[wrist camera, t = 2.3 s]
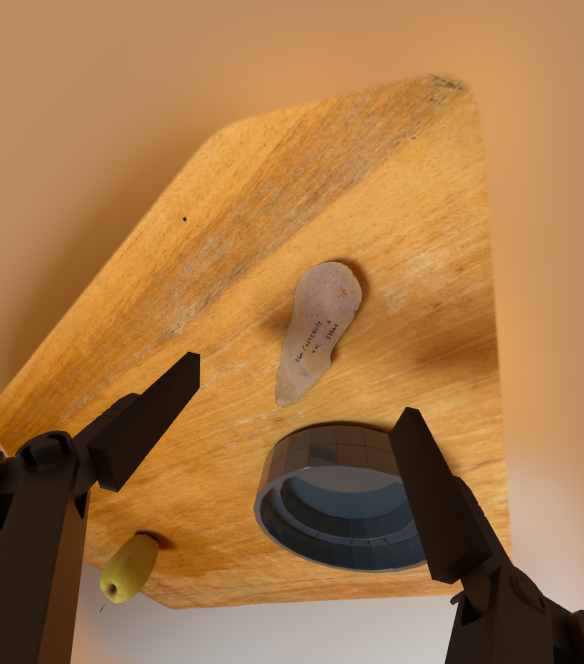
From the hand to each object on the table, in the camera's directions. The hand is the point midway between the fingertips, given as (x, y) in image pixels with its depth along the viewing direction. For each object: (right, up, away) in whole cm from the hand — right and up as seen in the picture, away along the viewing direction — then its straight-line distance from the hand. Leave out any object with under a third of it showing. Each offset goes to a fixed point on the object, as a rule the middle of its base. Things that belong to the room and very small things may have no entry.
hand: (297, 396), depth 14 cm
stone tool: (+1, +3, +6) cm, 7 cm away
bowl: (+6, -15, +14) cm, 21 cm away
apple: (-30, -38, +31) cm, 57 cm away
